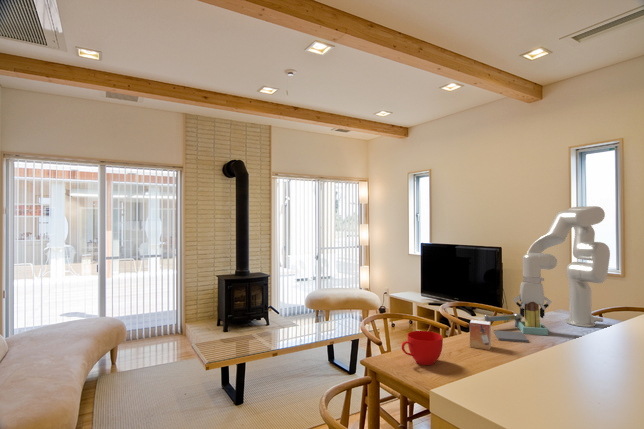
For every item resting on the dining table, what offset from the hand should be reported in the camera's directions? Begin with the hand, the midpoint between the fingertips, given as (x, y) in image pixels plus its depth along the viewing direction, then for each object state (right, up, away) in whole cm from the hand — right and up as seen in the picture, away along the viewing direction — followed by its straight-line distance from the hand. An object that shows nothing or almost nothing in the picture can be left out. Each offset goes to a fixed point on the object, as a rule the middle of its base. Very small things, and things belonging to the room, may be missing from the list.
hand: (532, 316), depth 183 cm
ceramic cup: (-64, -7, -39) cm, 75 cm away
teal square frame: (0, -7, +1) cm, 7 cm away
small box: (-34, -7, -22) cm, 41 cm away
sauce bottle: (0, -7, 0) cm, 7 cm away
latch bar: (-11, -3, +5) cm, 13 cm away
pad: (-15, -7, -9) cm, 19 cm away
